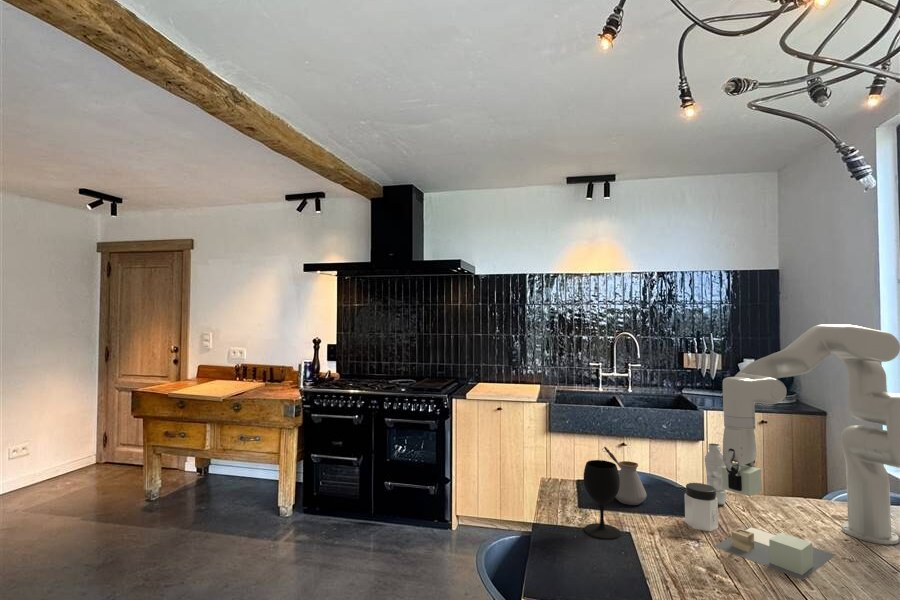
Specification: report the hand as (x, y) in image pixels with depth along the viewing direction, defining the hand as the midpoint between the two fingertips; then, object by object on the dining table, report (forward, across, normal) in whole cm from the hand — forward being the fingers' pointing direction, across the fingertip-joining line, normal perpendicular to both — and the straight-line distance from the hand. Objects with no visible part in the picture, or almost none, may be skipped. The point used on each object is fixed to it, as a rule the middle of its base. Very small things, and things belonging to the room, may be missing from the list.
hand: (741, 486), depth 131 cm
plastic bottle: (+18, -28, -21) cm, 39 cm away
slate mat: (+17, -5, +5) cm, 19 cm away
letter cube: (+17, 0, 0) cm, 17 cm away
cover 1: (+1, 0, 0) cm, 1 cm away
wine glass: (+17, +23, -29) cm, 41 cm away
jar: (+17, -5, -14) cm, 23 cm away
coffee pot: (+17, -7, -44) cm, 48 cm away
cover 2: (+17, 0, +11) cm, 20 cm away
